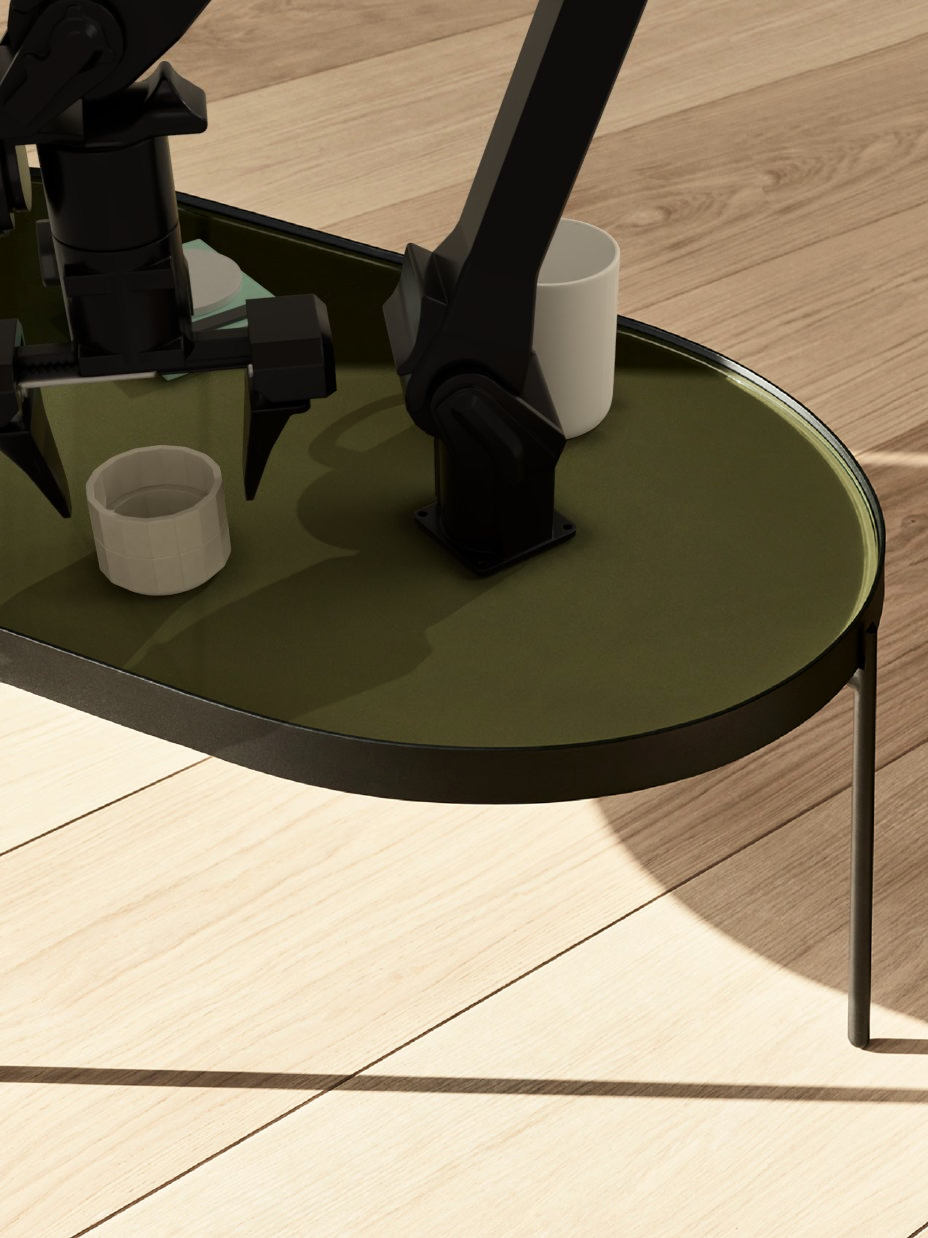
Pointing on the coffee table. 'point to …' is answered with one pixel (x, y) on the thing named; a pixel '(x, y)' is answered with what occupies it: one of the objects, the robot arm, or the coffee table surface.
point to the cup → (578, 323)
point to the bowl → (159, 519)
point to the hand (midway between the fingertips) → (159, 504)
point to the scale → (217, 290)
